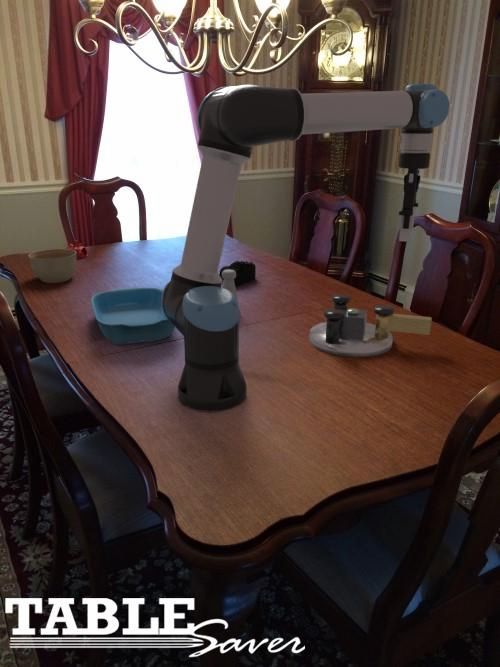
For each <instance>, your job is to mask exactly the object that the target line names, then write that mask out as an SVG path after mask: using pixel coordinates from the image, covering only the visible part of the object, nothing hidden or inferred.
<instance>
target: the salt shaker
mask: <svg viewBox="0 0 500 667" xmlns="http://www.w3.org/2000/svg"><path fill="white" fill-rule="evenodd" d="M222 278H224V281H222V285H221V289H226V290H229V291H230V292H232V293H233V294H234V295H235V296H236V297H237V298H238V294H237V289H236V288H237V287H235V283H234V278H236V272H235V271H234V270H230V269H228V270H224V271H223V272H222Z"/></svg>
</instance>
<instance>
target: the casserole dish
mask: <svg viewBox="0 0 500 667" xmlns="http://www.w3.org/2000/svg"><path fill="white" fill-rule="evenodd" d="M162 292H163V289H161V288H157V287H135V286H134V287H122V288H114V289H110V290H105V291H101V292H97V293H95V294H93V295H92V296H91V298H90V303H91V307H92V310H93V314H94V317H95V319H96V323H97V324H98V325H97V326H98V327H99V330H100V331H101V333H102V335H103V336H104V337H105V339H107V340H108V341H110V342H111V343H113V344H116V345H125V344H126V345H128V344H136V343H142V342H143V343H145V342H154V341H159V340H164V339H166V338H168V337H169V336H170V335H171V334H172V333H173V332H174V330H175V328H176V327H175V326H174V325H173V324H171V323H170V321H169V320H168V319H167V318H166V316H165V313H164V311H163V309H162V305H161V296H162Z"/></svg>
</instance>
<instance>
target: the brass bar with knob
mask: <svg viewBox="0 0 500 667" xmlns="http://www.w3.org/2000/svg"><path fill="white" fill-rule="evenodd" d="M373 313H374V314H376V315H375V316H376V317H375V324H374V325H375V335H374V336H375V337H376V338H380V339H386V338H388V335H389V332H397V333H408V334H416V335H417V334H418V335H424V336H425V335H426V336H430V335H431V329H432V328H431V327H432V317H431V316H423V315H411V314H403V313H402V314H401V313H399V314H398V313H395V308H394V307H393V306H392V305H383V304H382V305H380V304H379V305H375V306H374V307H373Z"/></svg>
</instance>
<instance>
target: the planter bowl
mask: <svg viewBox="0 0 500 667" xmlns="http://www.w3.org/2000/svg"><path fill="white" fill-rule="evenodd" d="M76 255H77V253H76V251H74V250H70V249H65V248H51V249H50V248H49V249H48V248H47V249H42V250H37V251H33V252H31V253H29V254H28V260H29V263H30V267H31V269H32V271H33V273H34V274H35V275H36V277H37V278H38V279H39V280H40V281H41V282H43V283H45V284H46V283H47V284H48V283H49V284H58V283H64V282H66V281H69V280H70V279H71V278H72V277H73V275H74V273H75V270H76V266H77V259H76Z"/></svg>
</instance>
